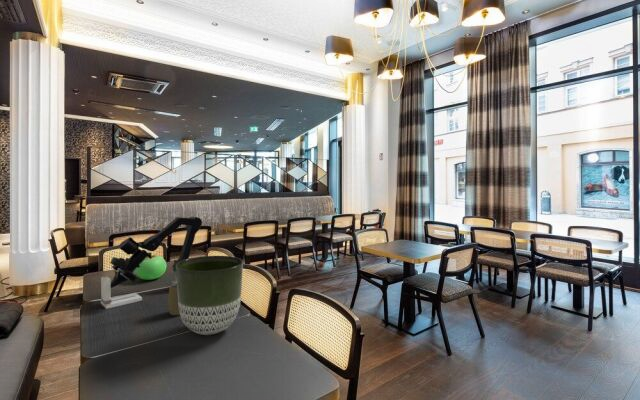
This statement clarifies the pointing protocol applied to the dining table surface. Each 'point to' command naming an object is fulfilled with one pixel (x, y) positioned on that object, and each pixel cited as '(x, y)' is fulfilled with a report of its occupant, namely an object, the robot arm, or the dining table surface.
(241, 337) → the dining table surface
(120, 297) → the fader deck
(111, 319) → the dining table surface
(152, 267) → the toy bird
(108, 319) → the dining table surface
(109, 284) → the handle
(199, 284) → the planter
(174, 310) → the squeeze bottle
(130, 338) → the dining table surface
